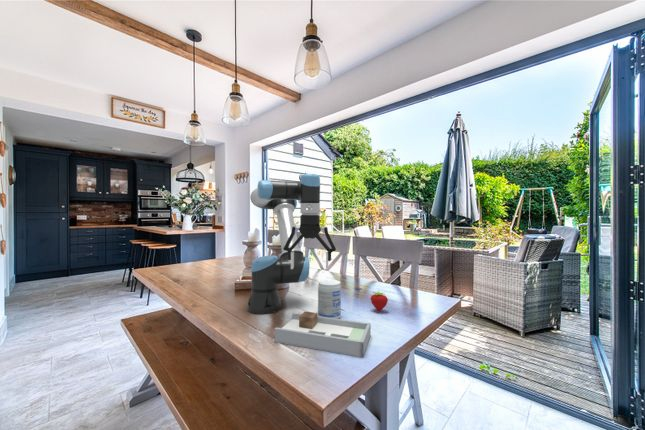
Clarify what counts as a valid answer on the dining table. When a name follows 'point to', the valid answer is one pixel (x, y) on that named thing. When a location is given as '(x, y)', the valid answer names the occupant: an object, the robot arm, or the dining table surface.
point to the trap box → (327, 335)
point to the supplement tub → (329, 299)
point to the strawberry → (379, 301)
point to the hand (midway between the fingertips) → (309, 268)
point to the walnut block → (308, 320)
